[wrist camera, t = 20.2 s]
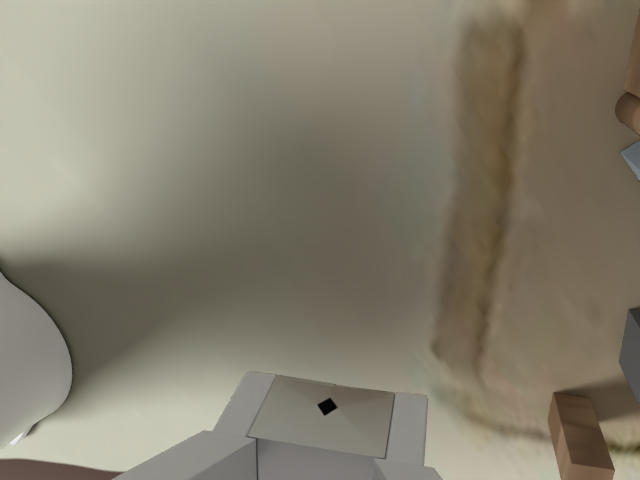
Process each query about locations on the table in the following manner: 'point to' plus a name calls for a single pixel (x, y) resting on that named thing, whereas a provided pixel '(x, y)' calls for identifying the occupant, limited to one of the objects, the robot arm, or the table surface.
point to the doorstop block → (632, 352)
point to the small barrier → (576, 411)
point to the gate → (633, 157)
